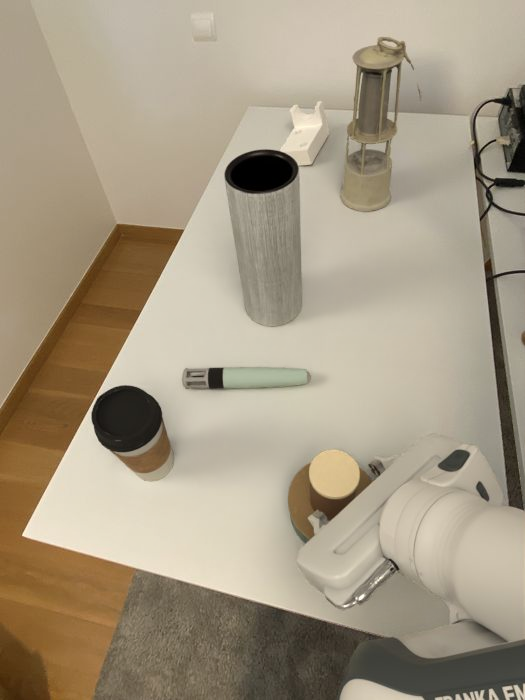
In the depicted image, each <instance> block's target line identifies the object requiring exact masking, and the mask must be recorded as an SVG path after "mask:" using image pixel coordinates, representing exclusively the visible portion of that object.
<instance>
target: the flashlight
mask: <svg viewBox="0 0 525 700" xmlns="http://www.w3.org/2000/svg"><path fill="white" fill-rule="evenodd" d="M182 371H183V372H182V375H181V376H182V377H181V380H182V386H183V388H185V390H186V389H187V390H189V389H210V390H213V389H215V390H216V389H217V390H219V389H259V388H281V387H290V386H301V385H308V383H309V382H310V381H311V378H312V377H311V376H312V375H311V373H310V371H309V370H308V369H306V368H295V367H294V368H293V367H292V368H291V367H268V366H267V367H266V366H263V367H261V366H256V367H255V366H246V367H244V366H241V367H239V366H238V367H234V366H233V367H206V368H204V367H203V368H184V369H183V370H182ZM194 373H195V374H196V375H192V374H194ZM201 373H203V374H204V375H203V374H202V375H201ZM197 374H200V375H197ZM192 382H205V385H203V384H202V385H201V384H200V385H199V384H198V385H192Z"/></svg>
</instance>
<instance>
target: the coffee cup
mask: <svg viewBox="0 0 525 700" xmlns="http://www.w3.org/2000/svg"><path fill="white" fill-rule="evenodd" d="M90 415H91V422H92V426H93V431H94V434H95V435H96V438H97V440H98V442H99V443H100V445H101V446H103V448H105V449H106V450H109V452H111V453H112V454H113V455H114V456H115V457H116V458H118V460H120V461H121V463H123V465H125V466H126V467H127V468H128V469H129V470H131V472H132V473H134V474H135V475H136V476H137V477H138V478H139V479H141V480H143V481H146V482H156V481H159V480H161V479H164V478H165V477H166V476H167V475H168V474H169V473H170V472H171V470H172V469H173V466H174V462H175V455H174V451H173V448H172V445H171V441H170V438H169V434H168V432H167V428H166V425H165V421H164V417H163V411H162V407H161V405H160V404H159V402H158V401H157V400H156V398H155V397H154V396H152V395H151V394H150V393H148V392H147V391H146V390H144V389H142V388H140V387H138V386H134V385H127V384H124V385H118V386H114V387H111V388H109V389H108V390H106V391H104V392H103V393H102V394H100V395H99V396H98V397H97V398H96V400H95V402H94V404H93V407H92V410H91V414H90Z"/></svg>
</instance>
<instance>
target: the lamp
mask: <svg viewBox="0 0 525 700" xmlns="http://www.w3.org/2000/svg"><path fill="white" fill-rule="evenodd" d="M384 42H388V43H393V44H395V45H396V46H392V45H388V44H387V43H384ZM406 49H407V45H406V41H404V40H401V41H400V40H397V39H396V38H395V39H394V38H392V37H390V36H379V37H377V41H376V44H374V45H368V46H365V47H362V48H360V49H358V50H356V51H355V52H354V53H353V55H352V61H353V63H354V64H355V66H356V73H355V74H356V75H355V87H354V88H355V90H354V96H353V113H352V120H351V122H349V123H348V125H347V126H346V134H347V137H346V145H345V156H344V171H343V185H342V188H341V190H340V200H341V202H342V203H343V205H345V206H346V207H348V208H349V209H351V210H355V211H359V212H363V213H367V212H374V211H378V210H381V209H384V208H385V207H386V206H387V205H388V204H389V203H390V202H391V200H392V192H391V190H390V186H391V179H392V177H391V176H392V168H393V160H392V158H391V154H392V153H391V152H392V149H391V148H392V147H391V145H392V140H393V138H394V137H395V136H396V135H397V133H398V126H397V125H398V124H397V120H398V114H399V102H400V101H399V97H400V87H401V80H402V79H401V75H402V64H403V61H404V59H405V60H406V62H407V63H408V64H409V65H410V66H411V69H412V70H413V71H415V67H414V65H413V64H412V60H411V59H410V58H409V56H408V53H407V50H406ZM394 68H396V69H397V75H396V76H397V77H396V91H395V102H394V103H395V104H394V105H395V106H394V120H392V119H389V118H388V114H389V101H390V92H391V90H390V89H391V79H392V73H393V69H394ZM416 83H417V90H418V94H419V102H421V101H422V91H421V88H420V86H419V84H418V82H416ZM350 139H351V140H353V141H355V142H356V143H358V144H360V148H359V150H356V151H353V152H352V153H350V154H349V145H350ZM376 144H385V148H384V151H381V150H379V149H374V148H373V149H372V148H368V149H367V148H366V147H367V145H376Z"/></svg>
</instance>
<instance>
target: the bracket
mask: <svg viewBox="0 0 525 700" xmlns="http://www.w3.org/2000/svg"><path fill="white" fill-rule="evenodd" d="M289 114H290V117H291V121H292V125H293V127H294V128H293V129H292V131H291V132H290V133H289V135H288V137H287V138H286V140H285V141H284V143H283V145H282V146H281V148H280V149H279V151H281V152H284V153H286V154H288V155H290V156H291V157H292V158H294V159H295V161H296V162H297V164H298V166H311V165H313V162H314V161H315V159H316V158H317V156H318V154H319V152H320V151H321V149H322V148H323V146H324V144H325V142H326V140H327V139H328V137H329V135H330V128H329V124H328V120H327V116H326V112H325V107H324V102H323V100H319V101H317V102H316V104H315V106H314V112H313V113H305V112H303V111H302V110H301V109H300V108H299V105H298V104H293V105H292V107H291V108H290V109H289Z"/></svg>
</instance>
